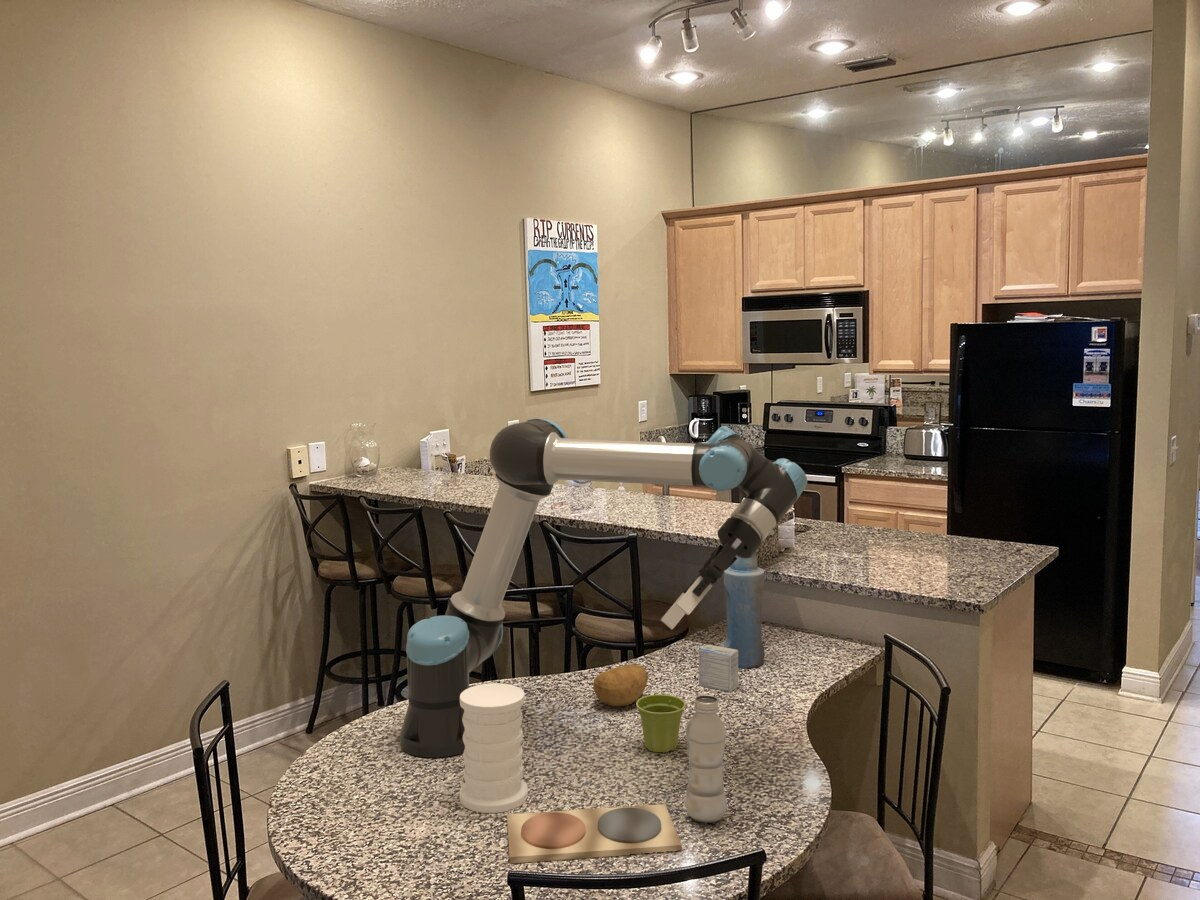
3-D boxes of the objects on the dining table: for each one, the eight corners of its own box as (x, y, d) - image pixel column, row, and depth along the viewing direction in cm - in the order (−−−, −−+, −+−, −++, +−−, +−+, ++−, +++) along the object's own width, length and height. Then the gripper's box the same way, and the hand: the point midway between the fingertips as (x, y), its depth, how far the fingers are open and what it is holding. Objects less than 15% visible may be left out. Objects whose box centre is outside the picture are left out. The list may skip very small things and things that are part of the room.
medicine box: (738, 686, 213) (739, 649, 212) (730, 693, 209) (730, 655, 208) (707, 680, 217) (707, 643, 216) (698, 686, 214) (698, 649, 213)
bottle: (766, 669, 225) (769, 544, 221) (725, 669, 225) (726, 544, 221) (760, 656, 234) (762, 536, 231) (720, 655, 234) (722, 536, 231)
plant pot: (682, 759, 176) (682, 714, 175) (632, 755, 178) (632, 710, 177) (688, 738, 185) (688, 696, 184) (640, 735, 187) (640, 692, 186)
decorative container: (470, 818, 154) (468, 712, 152) (451, 788, 165) (449, 688, 163) (537, 805, 159) (536, 701, 157) (515, 776, 169) (514, 678, 167)
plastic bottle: (716, 832, 149) (717, 709, 147) (677, 820, 153) (678, 701, 151) (732, 815, 155) (734, 696, 153) (695, 804, 158) (696, 688, 156)
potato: (660, 700, 205) (660, 664, 204) (616, 718, 195) (616, 681, 194) (627, 689, 212) (627, 654, 211) (582, 706, 202) (582, 670, 201)
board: (509, 863, 141) (509, 853, 140) (507, 820, 153) (507, 810, 153) (681, 851, 144) (681, 841, 144) (665, 809, 157) (665, 800, 156)
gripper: (783, 523, 160) (707, 618, 152) (743, 560, 183) (676, 643, 175) (748, 495, 161) (671, 587, 153) (713, 534, 184) (645, 616, 176)
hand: (674, 617), depth 164 cm, fingers open, 13 cm apart
